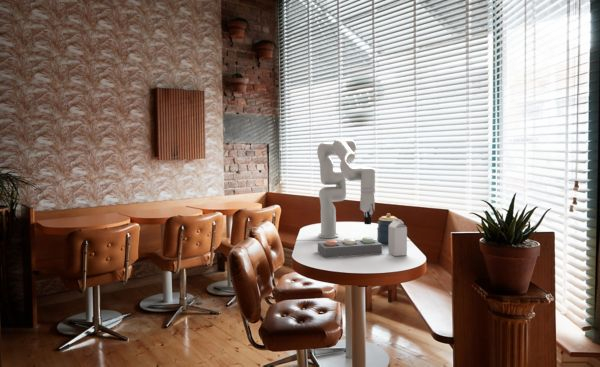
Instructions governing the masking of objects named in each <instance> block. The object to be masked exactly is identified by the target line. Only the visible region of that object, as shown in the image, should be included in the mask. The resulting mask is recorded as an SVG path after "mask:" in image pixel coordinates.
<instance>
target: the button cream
mask: <svg viewBox="0 0 600 367" xmlns="http://www.w3.org/2000/svg"><path fill="white" fill-rule="evenodd" d="M355 240H356V239H355V238H344V239H343V241H344V245H355Z"/></svg>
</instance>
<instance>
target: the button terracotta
mask: <svg viewBox="0 0 600 367" xmlns="http://www.w3.org/2000/svg"><path fill="white" fill-rule="evenodd" d="M337 241H338V240H335V239H326V240H325V246H326V247H330V246H337Z"/></svg>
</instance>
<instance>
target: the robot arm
mask: <svg viewBox="0 0 600 367" xmlns="http://www.w3.org/2000/svg"><path fill="white" fill-rule="evenodd" d="M316 150H317V152H316V154H317V158H318V161H319V174H320V182H321V183H322V184H323V185H325V186H326V187H322V188H321V189H320V190H319V192H318V198H319V203H320V233H318V237H319V238H320V239H321V238H322V239H336V238H338V237H339V234H338V233H337V216H336V215H337V213H336V212H337V210H336V206H335V205H334V203H333V202H343V201H344V200H345V199H346V196H347V186H346V180H348V181H360V203H359V210H360V211H362V212H363V216H364V220H363V222H364V225H371V224H372V215H373V214H374V212H375V211H376V210H375V208H376V207H375V206H376V204H375V202H376V201H375V193H376V169H375V168H374V167H368V166H350V164H351V163H353V161H355V157H356V155H355V152H356V150H357V144H356V142H355V140H353V139H351V138H343V139H342V138H340V139H335V140H334V141H324V142H321V143H320V144H318V146H317V149H316ZM330 156H333V157H334V156H337V157H338V158H339V160H340V165H339V166H340V167H339V169H334V162H333V159H332V158H331V157H330ZM328 185H329V186H328ZM331 185H335V186H331Z"/></svg>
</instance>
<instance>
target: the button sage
mask: <svg viewBox="0 0 600 367" xmlns="http://www.w3.org/2000/svg"><path fill="white" fill-rule="evenodd" d="M361 240H362V243H363V244H372V243H373V240H374V238H373V237H368V236H367V237H362V238H361Z"/></svg>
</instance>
